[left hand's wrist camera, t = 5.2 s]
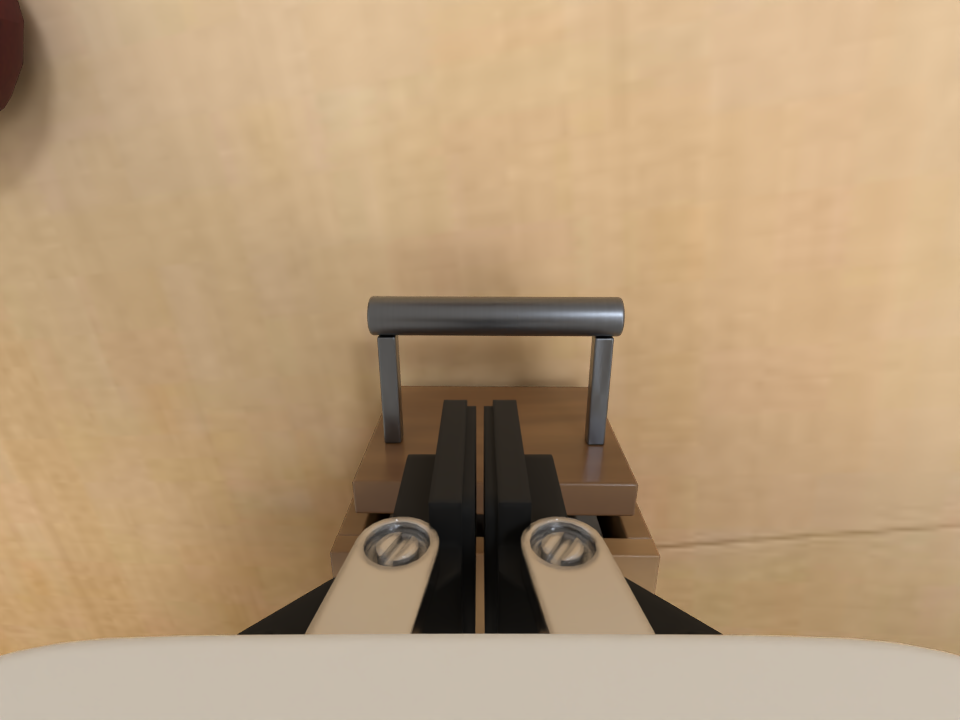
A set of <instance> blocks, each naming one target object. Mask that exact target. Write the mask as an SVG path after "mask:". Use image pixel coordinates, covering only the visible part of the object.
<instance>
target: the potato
mask: <svg viewBox="0 0 960 720" xmlns="http://www.w3.org/2000/svg"><path fill="white" fill-rule="evenodd" d="M23 28H24V21H23V17H22V14H21V10H20V7H19V3H18V0H0V111H1V110H2V109H3V108H4V107H5V106H6V104H7V102H8V101H9V99H10V97H11V96H12V93H13V90H14V87H15V85H16V82H17V79H18V76H19V73H20V70H21V67H22V65H23Z"/></svg>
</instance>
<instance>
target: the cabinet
mask: <svg viewBox="0 0 960 720" xmlns="http://www.w3.org/2000/svg"><path fill="white" fill-rule="evenodd" d="M390 515H391V514H379V513H356V511H355V503H354V496H353V499H352V501H351V504H350V506H349V509H348V511H347V514H346V516H345V519H344V521H343V523H342V526H341V528H340V531H339V533H338V536H337V537H336V540H335V542H334V545H333V547H332V550H331V552H330V555H331V563H332V571H333V578H334V577H336V576H337V574H338V572H339V571H340V569H341V567H342V565H343V563H344V561H345V560H346V558H347V556H348V554H349V552H350V550H351V549H352V547H353V545H354V543H355V541H356V540H357V538H358V537H359V536H360V534H361V533H362V532H363V531H364V530H365V529H366V528H368V527H369V526H371V525H372V524H374V523H376V522H379V521H381V520H384V519H388V518H390ZM597 519H598V522H599V526H600V529H601V532H602V536H603V540H604V541H605V543H606V545H607V547H608V549H609V550H610V552H611V554H612V556H613V558H614V560H615V561H616V563H617V565H618V567H619V569H620V571H621V572H622V574H623V576H624V577H626V578H627V579H629V580H631V581H632V582H634V583H636V584H638V585H639V586H641V587H643V588H644V589H646V590H648V591H649V592H651V593H653V594H655V588H656V581H657V574H658V567H659V560H660V555H659V553H658V550H657V548H656V546H655V543H654V541H653V539H652V537H651V535H650V533H649V530H648V528H647V526H646V524H645V521H644V519H643V517H642V514H641V512H640V510H639V507H638V505H637V503H636V506H635V513H634V515H633V516H597ZM475 634H485V625H484V537H476V625H475Z"/></svg>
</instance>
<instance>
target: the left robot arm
mask: <svg viewBox="0 0 960 720" xmlns="http://www.w3.org/2000/svg"><path fill="white" fill-rule="evenodd" d="M476 521H477V483H476V406H467V400H444V402H443V409H442V415H441V422H440V429H439V435H438V442H437V449H436V454H409V455H408V456H407V460H406V464H405V468H404V472H403V476H402V480H401V484H400V488H399V492H398V496H397V501H396V505H395V509H394V513H393V517H392V518H388V519H384V520H381V521H379V522H376V523H374V524H372V525H371V526H369V527H368V528H366V529H365V530H364V531H363V532H362V533H361V534H360V536H359V537H358V538H357V540H356V541H355V543H354V545H353V547H352V549H351V550H350V552H349V554H348V556H347V558H346V560H345V561H344V563H343V565H342V567H341V569H340V571H339V572H338V574H337V576H336V577H334V578H333V579H331V580H329V581H328V582H326V583H324V584H322V585H321V586H319V587H317V588H316V589H314V590H312V591H311V592H309V593H307V594H305V595H304V596H302V597H300V598H299V599H297V600H295V601H293V602H292V603H290V604H288V605H287V606H285V607H283V608H282V609H280V610H278V611H276V612H275V613H273V614H271V615H270V616H268V617H266V618H264V619H263V620H261V621H259V622H258V623H256V624H254V625H253V626H251V627H249V628H247V629H246V630H244V631H242V632H241V633H239V634H237V635H172V636H145V637H118V638H99V639H90V640H81V641H72V642H62V643H56V644H51V645H46V646H40V647H35V648H30V649H24V650H19V651H15V652H11V653H8V654H4V655H1V656H0V720H960V656H959V655H956V654H952V653H949V652H945V651H941V650H936V649H930V648H925V647H920V646H914V645H909V644H904V643H898V642H888V641H879V640H870V639H861V638H842V637H815V636H788V635H723V634H721V633H719V632H718V631H716V630H714V629H713V628H711V627H709V626H707V625H706V624H704V623H702V622H701V621H699V620H697V619H696V618H694V617H692V616H690V615H689V614H687V613H685V612H684V611H682V610H680V609H678V608H677V607H675V606H673V605H672V604H670V603H668V602H667V601H665V600H663V599H661V598H660V597H658V596H656V595H655V594H653V593H651V592H649V591H648V590H646V589H644V588H643V587H641V586H639V585H638V584H636V583H634V582H632V581H631V580H629V579H627V578H626V577H624V576H623V574H622V572H621V571H620V569H619V567H618V565H617V563H616V561H615V560H614V558H613V556H612V554H611V552H610V550H609V549H608V547H607V545H606V543H605V541H604V540H603V538H602V537H601V536H600V534H599V533H598V532H597V531H596V530H595V529H594V528H592V527H591V526H589V525H588V524H586V523H584V522H581V521H579V520H576V519H572V518H568V517H567V513H566V509H565V505H564V501H563V496H562V492H561V488H560V484H559V480H558V476H557V472H556V468H555V464H554V460H553V456H552V455H551V454H524V449H523V442H522V435H521V429H520V422H519V415H518V409H517V402H516V400H493V406H484V483H483V521H484V625H485V634H475V625H476Z"/></svg>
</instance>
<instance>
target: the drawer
mask: <svg viewBox="0 0 960 720" xmlns="http://www.w3.org/2000/svg"><path fill="white" fill-rule="evenodd" d="M624 319H625V311H624V304H623V301H622V299H621V298H619V297H378V296H373V297H371V298H370V299H369V303H368V309H367V321H368V328H369V331H370V333H371V334H372V335H379V336H378V338H377V342H378V356H379V370H380V385H381V399H382V414H381V417H380V419H379V421H378V424H377V426H376V428H375V431H374V433H373V436H372V438H371V440H370V443H369V445H368V447H367V450H366V452H365V454H364V457H363V459H362V461H361V464H360V466H359V468H358V471H357V473H356V475H355V478H354V480H353V493H354V503H355V511H356V513H379V514H391V515H390V518H392V517H393V513H394V509H395V505H396V501H397V496H398V492H399V488H400V484H401V480H402V476H403V472H404V468H405V464H406V460H407V456H408V455H409V454H436V449H437V442H438V435H439V429H440V422H441V415H442V409H443V402H444V400H467V406H476V483H477V521H476V537H484V521H483V483H484V406H493V400H516V402H517V409H518V415H519V422H520V429H521V435H522V442H523V449H524V454H551V455H552V456H553V460H554V464H555V468H556V472H557V476H558V480H559V484H560V488H561V492H562V496H563V501H564V505H565V509H566V513H567V517H568V518H572V519H576V520H579V521H581V522H584V523H586V524H588V525H589V526H591V527H592V528H594V529H595V530H596V531H597V532H598V533H599V534H600V536H601V537H602V538H603V536H602V532H601V529H600V526H599V522H598V519H597V516H633V515H634V513H635V506H636V497H637V489H638V484H637V482H636V479H635V477H634V475H633V473H632V471H631V469H630V466H629V464H628V462H627V460H626V458H625V456H624V453H623V451H622V449H621V447H620V445H619V443H618V441H617V438H616V436H615V434H614V432H613V430H612V428H611V425H610V423H609V421H608V419H607V409H608V398H609V387H610V376H611V365H612V354H613V343H614V338H613V337H612V336H620V335H621V333H622V331H623V327H624ZM398 335H454V336H592V346H591V359H590V372H589V385H588V387H463V386H401V378H400V361H399V343H398Z"/></svg>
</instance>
